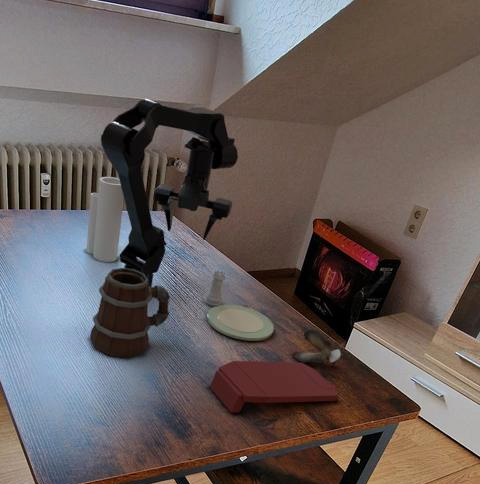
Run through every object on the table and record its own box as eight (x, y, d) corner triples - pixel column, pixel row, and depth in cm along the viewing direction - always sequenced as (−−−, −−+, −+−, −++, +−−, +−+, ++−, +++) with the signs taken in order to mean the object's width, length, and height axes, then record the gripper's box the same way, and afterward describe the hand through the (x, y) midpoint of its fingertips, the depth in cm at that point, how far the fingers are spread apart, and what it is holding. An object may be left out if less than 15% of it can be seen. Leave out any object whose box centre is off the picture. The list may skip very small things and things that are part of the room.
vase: (121, 261, 146) (130, 185, 134) (97, 262, 143) (104, 184, 131) (104, 244, 153) (111, 171, 141) (80, 246, 150) (86, 170, 138)
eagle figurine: (335, 351, 122) (299, 335, 122) (351, 337, 115) (313, 320, 115) (326, 379, 119) (290, 363, 119) (342, 367, 113) (303, 350, 112)
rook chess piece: (202, 297, 136) (209, 268, 131) (219, 299, 137) (227, 270, 132) (205, 305, 132) (212, 275, 128) (222, 307, 133) (230, 277, 128)
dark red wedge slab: (296, 381, 118) (204, 381, 105) (306, 362, 115) (213, 360, 102) (331, 414, 110) (236, 419, 97) (343, 395, 107) (247, 397, 94)
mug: (99, 359, 106) (106, 290, 97) (85, 329, 114) (91, 262, 105) (172, 356, 111) (186, 289, 102) (154, 327, 120) (165, 263, 111)
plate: (231, 346, 118) (233, 341, 117) (193, 312, 129) (195, 307, 128) (286, 337, 126) (287, 332, 125) (246, 306, 136) (247, 301, 135)
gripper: (151, 167, 121) (142, 235, 130) (231, 186, 118) (216, 254, 128) (164, 158, 129) (154, 223, 139) (239, 176, 127) (224, 240, 137)
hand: (186, 235), depth 135 cm, fingers open, 9 cm apart
